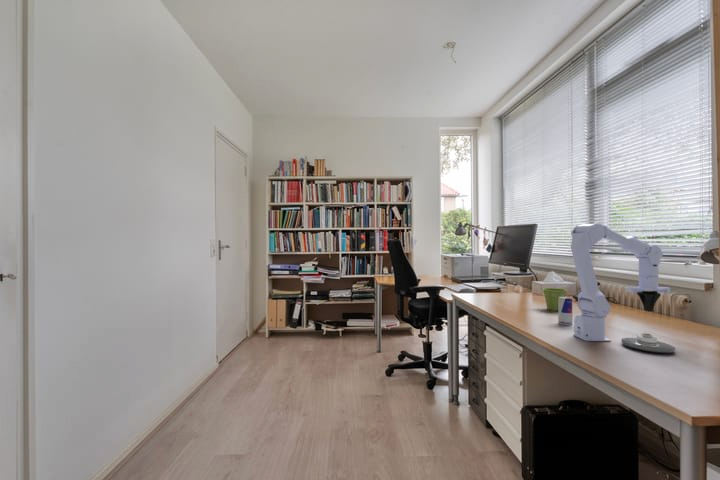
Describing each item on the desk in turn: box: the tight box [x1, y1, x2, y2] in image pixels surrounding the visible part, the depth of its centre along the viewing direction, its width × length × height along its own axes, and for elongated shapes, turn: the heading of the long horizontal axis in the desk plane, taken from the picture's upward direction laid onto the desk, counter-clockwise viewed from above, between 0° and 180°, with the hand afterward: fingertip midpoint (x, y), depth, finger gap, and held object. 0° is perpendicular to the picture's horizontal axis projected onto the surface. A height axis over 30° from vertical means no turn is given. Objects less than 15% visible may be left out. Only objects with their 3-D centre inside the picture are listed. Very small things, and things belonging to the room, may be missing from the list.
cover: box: [636, 333, 658, 346], centre depth 113 cm, size 5×5×3 cm
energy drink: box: [557, 296, 573, 326], centre depth 147 cm, size 5×5×12 cm
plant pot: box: [542, 287, 568, 312], centre depth 177 cm, size 12×12×11 cm
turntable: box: [620, 337, 676, 354], centre depth 113 cm, size 14×14×2 cm
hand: (648, 310), depth 126 cm, fingers closed
